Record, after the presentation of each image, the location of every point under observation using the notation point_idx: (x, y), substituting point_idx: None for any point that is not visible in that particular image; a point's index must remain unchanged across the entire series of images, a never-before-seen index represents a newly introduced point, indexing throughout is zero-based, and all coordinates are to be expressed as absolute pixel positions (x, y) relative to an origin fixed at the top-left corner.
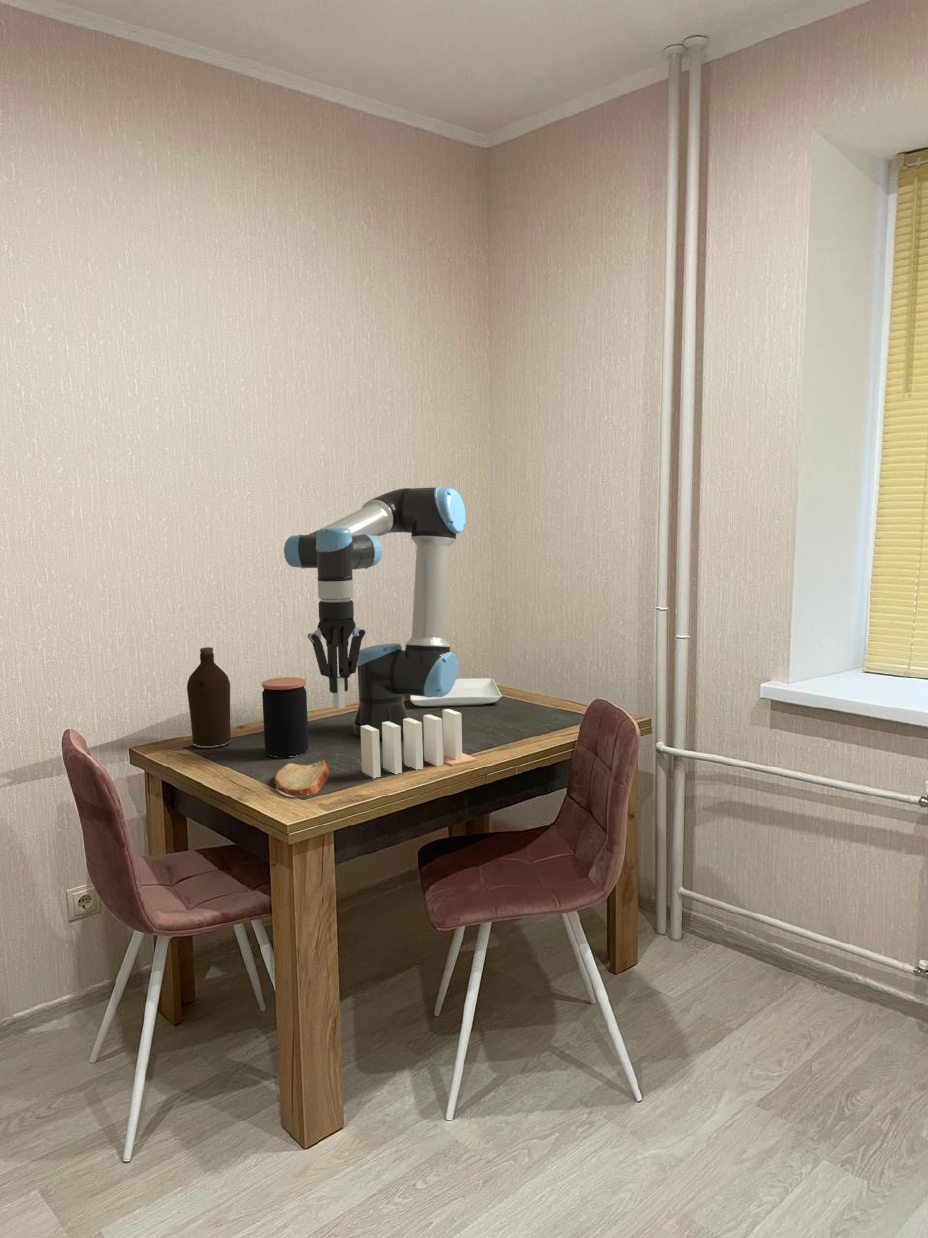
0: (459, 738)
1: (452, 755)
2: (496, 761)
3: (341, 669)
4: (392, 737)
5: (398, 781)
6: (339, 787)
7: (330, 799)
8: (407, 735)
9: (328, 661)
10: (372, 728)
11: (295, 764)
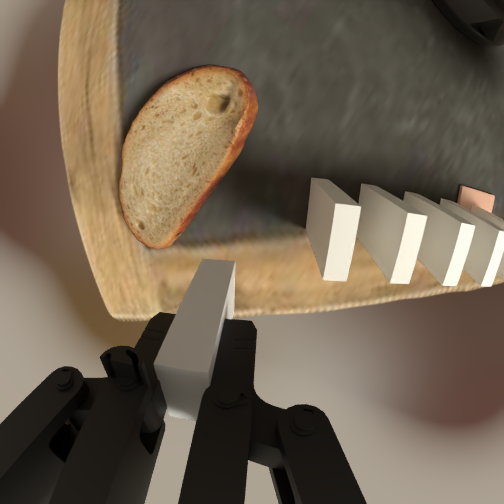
0: None
1: None
2: None
3: (217, 436)
4: (381, 261)
5: None
6: (225, 229)
7: (184, 275)
8: (435, 230)
9: (72, 473)
10: (344, 254)
11: (192, 78)
